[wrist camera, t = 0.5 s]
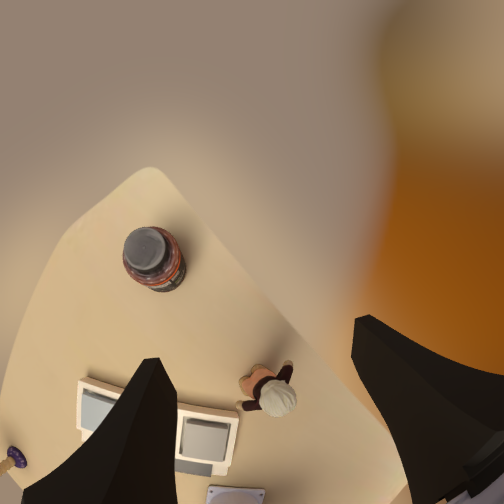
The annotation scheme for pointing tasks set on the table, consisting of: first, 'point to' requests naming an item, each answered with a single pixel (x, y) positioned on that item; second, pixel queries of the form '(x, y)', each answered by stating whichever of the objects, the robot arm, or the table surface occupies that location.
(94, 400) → the slate key
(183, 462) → the keypad
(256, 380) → the grandmother figurine
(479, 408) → the robot arm
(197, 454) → the grey key
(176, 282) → the supplement bottle
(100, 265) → the table surface
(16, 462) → the toy lamp
